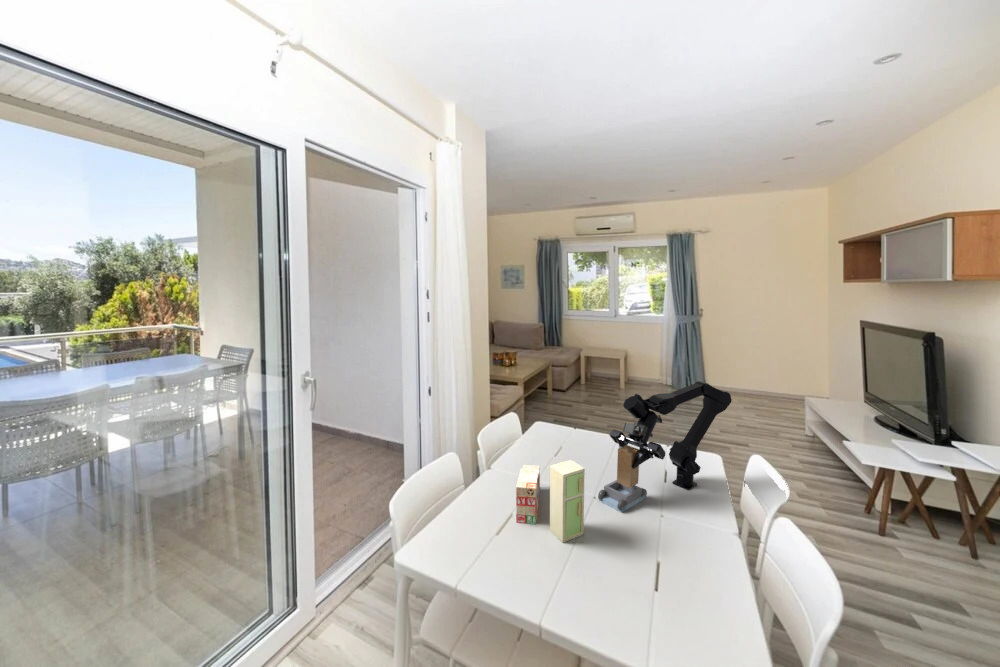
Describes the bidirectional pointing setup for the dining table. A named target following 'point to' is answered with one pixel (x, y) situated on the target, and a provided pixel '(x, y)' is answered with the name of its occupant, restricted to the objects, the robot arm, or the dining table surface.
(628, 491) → the chassis
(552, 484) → the toy refrigerator
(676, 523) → the dining table surface
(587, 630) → the dining table surface
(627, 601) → the dining table surface
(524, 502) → the stack of blocks
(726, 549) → the dining table surface
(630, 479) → the tall tan wooden block
